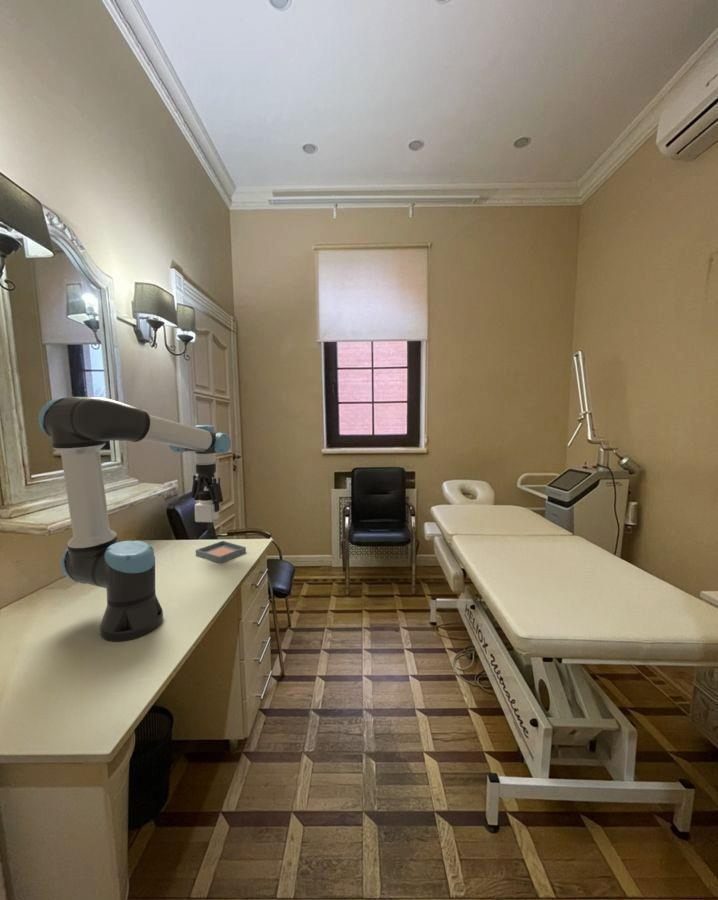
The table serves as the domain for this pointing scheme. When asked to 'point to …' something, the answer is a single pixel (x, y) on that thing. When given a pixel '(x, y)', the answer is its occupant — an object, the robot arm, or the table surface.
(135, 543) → the robot arm
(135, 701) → the table surface
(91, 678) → the table surface
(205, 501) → the medicine bottle
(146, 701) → the table surface
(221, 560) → the tray
